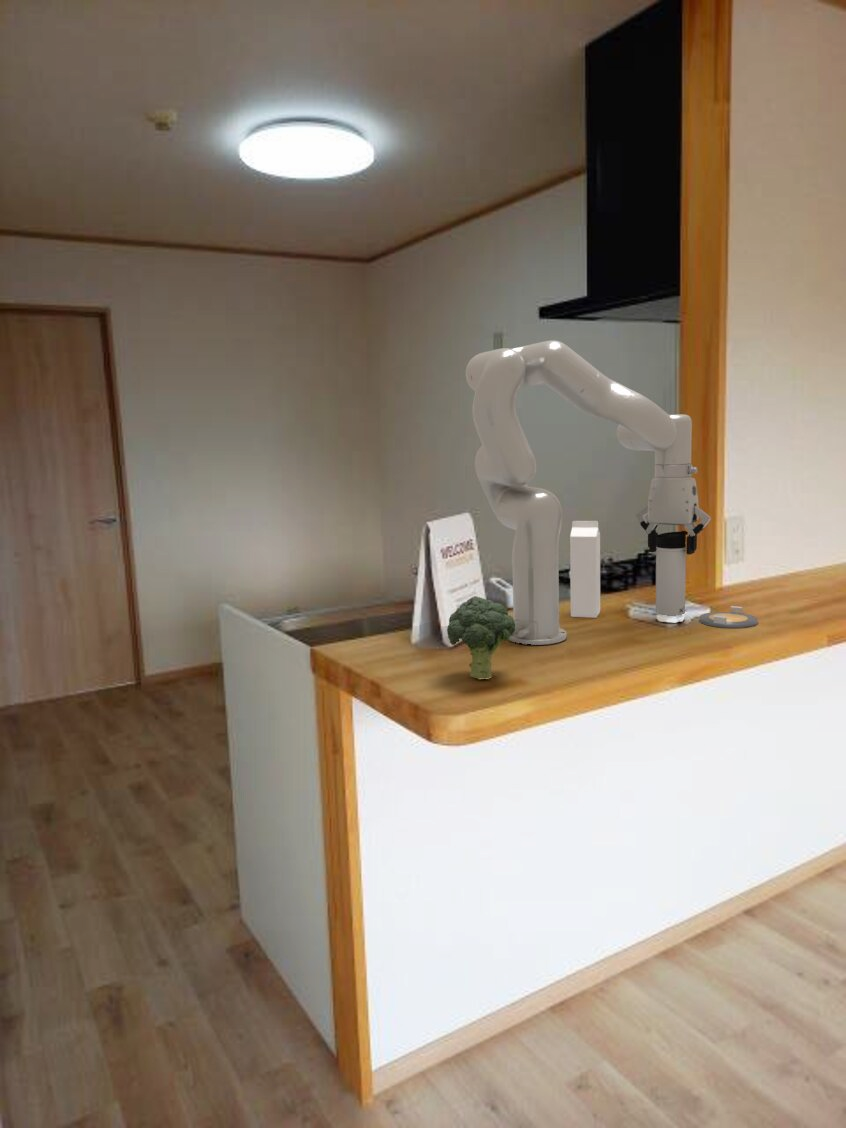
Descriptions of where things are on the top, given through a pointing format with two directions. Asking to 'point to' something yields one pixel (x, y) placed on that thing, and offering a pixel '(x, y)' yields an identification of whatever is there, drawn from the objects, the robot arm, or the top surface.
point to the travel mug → (671, 573)
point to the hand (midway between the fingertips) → (671, 551)
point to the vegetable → (480, 631)
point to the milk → (585, 569)
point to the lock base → (729, 619)
